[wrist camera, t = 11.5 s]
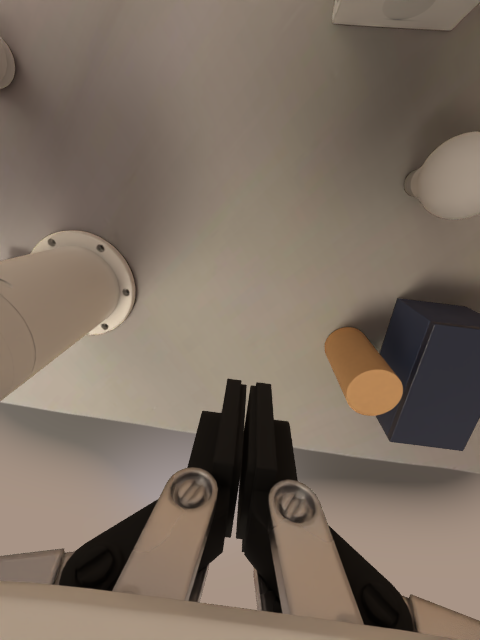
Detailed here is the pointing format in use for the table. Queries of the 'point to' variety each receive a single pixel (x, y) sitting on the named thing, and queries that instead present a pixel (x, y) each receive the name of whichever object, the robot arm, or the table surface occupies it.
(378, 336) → the table surface
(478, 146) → the lightbulb
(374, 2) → the cosmetics box
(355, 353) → the orange-brown cylinder
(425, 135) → the table surface
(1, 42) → the rook chess piece
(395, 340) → the navy box
